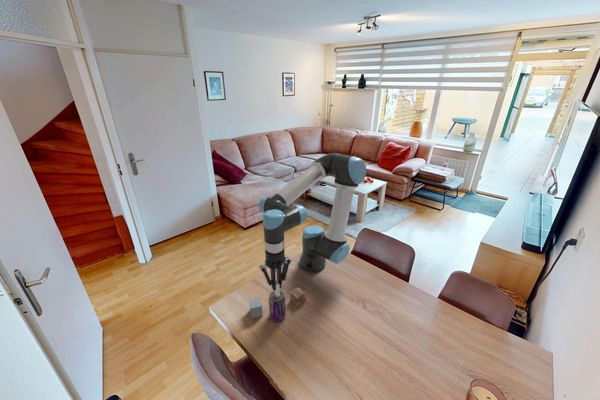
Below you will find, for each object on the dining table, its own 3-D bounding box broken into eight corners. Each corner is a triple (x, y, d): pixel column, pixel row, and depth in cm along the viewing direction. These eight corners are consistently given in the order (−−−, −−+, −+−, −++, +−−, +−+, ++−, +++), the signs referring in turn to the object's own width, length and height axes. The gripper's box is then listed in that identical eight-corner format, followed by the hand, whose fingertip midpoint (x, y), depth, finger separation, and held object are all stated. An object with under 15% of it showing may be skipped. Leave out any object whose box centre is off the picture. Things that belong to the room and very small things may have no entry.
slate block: (261, 307, 118) (260, 297, 116) (262, 315, 114) (262, 305, 111) (250, 310, 117) (249, 300, 114) (251, 318, 113) (250, 308, 110)
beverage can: (285, 322, 110) (284, 302, 106) (268, 322, 111) (267, 301, 106) (286, 309, 117) (285, 289, 112) (270, 309, 117) (269, 289, 112)
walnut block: (298, 295, 125) (298, 287, 123) (305, 300, 122) (305, 292, 120) (290, 300, 122) (290, 292, 120) (297, 306, 119) (297, 298, 117)
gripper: (286, 239, 105) (287, 283, 115) (255, 247, 99) (259, 293, 109) (294, 248, 99) (294, 295, 108) (261, 258, 93) (265, 306, 103)
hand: (277, 294), depth 109 cm, fingers closed
